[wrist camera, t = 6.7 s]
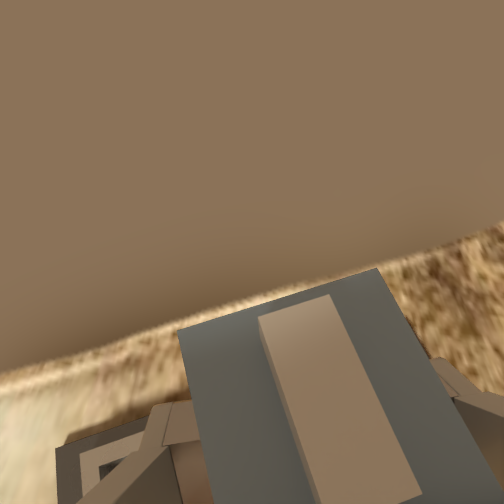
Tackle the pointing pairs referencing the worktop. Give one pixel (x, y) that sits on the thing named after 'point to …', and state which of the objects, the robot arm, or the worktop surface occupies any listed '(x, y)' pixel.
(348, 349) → the plug
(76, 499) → the panel
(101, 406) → the worktop surface
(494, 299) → the worktop surface
